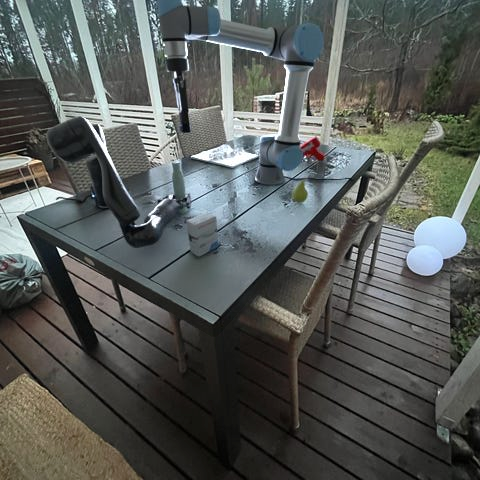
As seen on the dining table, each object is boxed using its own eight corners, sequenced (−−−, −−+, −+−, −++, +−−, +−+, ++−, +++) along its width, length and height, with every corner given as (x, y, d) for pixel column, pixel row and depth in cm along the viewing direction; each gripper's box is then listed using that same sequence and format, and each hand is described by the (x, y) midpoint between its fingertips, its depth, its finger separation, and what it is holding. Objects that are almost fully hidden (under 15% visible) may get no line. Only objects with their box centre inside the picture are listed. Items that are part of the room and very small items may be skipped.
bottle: (187, 208, 117) (181, 160, 106) (188, 212, 113) (182, 163, 102) (176, 209, 116) (169, 161, 105) (177, 214, 112) (169, 164, 101)
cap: (177, 131, 104) (176, 125, 102) (186, 129, 106) (186, 123, 105) (184, 132, 101) (183, 126, 100) (193, 130, 104) (192, 124, 102)
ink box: (209, 241, 95) (207, 210, 88) (218, 246, 92) (217, 215, 85) (189, 251, 90) (185, 219, 83) (198, 257, 87) (195, 225, 80)
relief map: (232, 167, 162) (232, 159, 160) (191, 158, 180) (190, 150, 177) (257, 157, 181) (258, 149, 178) (218, 149, 198) (217, 142, 196)
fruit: (288, 200, 123) (290, 174, 116) (302, 197, 125) (305, 172, 119) (296, 206, 118) (299, 179, 111) (310, 203, 120) (314, 177, 114)
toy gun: (328, 156, 170) (316, 135, 166) (328, 158, 166) (315, 136, 162) (303, 171, 180) (291, 152, 176) (302, 173, 176) (290, 153, 172)
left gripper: (182, 204, 96) (198, 187, 110) (145, 201, 99) (165, 184, 113) (184, 223, 100) (200, 203, 114) (149, 219, 103) (168, 201, 117)
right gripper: (163, 58, 97) (173, 128, 110) (167, 57, 83) (178, 137, 96) (184, 58, 99) (192, 126, 111) (191, 56, 85) (199, 135, 98)
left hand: (182, 194), depth 113 cm, fingers closed on bottle, 4 cm apart
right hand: (185, 131), depth 104 cm, fingers closed on cap, 4 cm apart
